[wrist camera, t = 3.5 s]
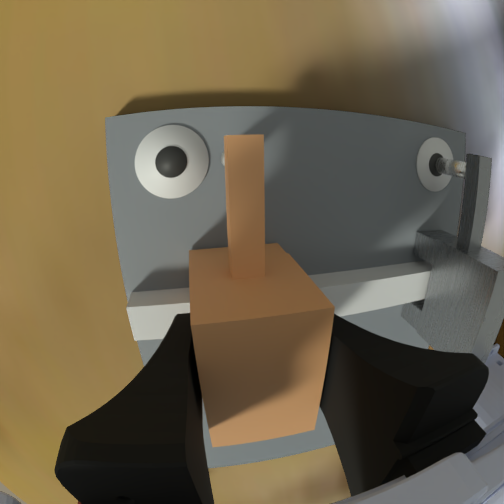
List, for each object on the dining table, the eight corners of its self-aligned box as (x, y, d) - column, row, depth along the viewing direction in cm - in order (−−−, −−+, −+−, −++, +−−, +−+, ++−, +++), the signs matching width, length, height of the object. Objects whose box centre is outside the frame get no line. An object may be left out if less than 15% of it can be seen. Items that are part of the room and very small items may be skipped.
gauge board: (453, 132, 14) (482, 135, 12) (392, 414, 21) (405, 432, 19) (111, 119, 11) (95, 115, 9) (180, 459, 18) (182, 484, 16)
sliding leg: (277, 136, 11) (345, 134, 6) (275, 343, 14) (314, 429, 9) (181, 139, 11) (173, 135, 6) (200, 352, 14) (212, 447, 9)
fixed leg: (449, 151, 13) (535, 168, 8) (425, 311, 16) (485, 362, 11) (423, 147, 13) (515, 162, 7) (400, 317, 16) (461, 375, 11)
